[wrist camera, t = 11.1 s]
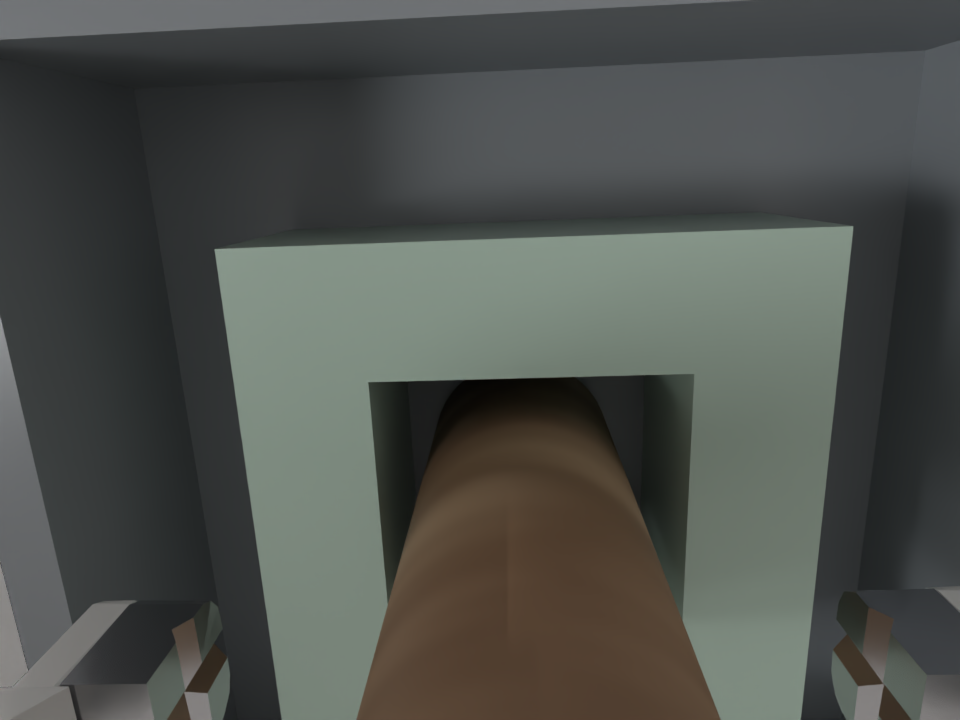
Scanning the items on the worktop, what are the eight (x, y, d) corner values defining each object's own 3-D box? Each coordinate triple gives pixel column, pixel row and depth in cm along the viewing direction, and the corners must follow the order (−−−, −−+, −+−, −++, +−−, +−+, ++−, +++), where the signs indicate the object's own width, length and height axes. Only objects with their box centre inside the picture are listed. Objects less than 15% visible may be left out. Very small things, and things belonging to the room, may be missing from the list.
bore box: (221, 720, 19) (100, 950, 14) (106, 47, 15) (-154, -35, 9) (856, 720, 19) (1014, 966, 13) (952, 3, 14) (1272, -118, 8)
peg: (440, 519, 16) (279, 1362, 5) (431, 361, 15) (192, 967, 4) (606, 516, 16) (851, 1389, 5) (608, 357, 15) (937, 979, 4)
